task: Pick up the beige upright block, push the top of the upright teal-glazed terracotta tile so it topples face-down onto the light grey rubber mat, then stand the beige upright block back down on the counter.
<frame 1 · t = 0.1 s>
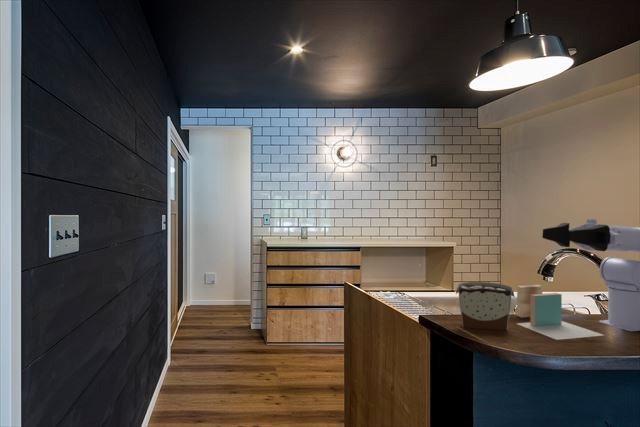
hand: (557, 234, 88), 22 cm above the table, tool horizontal, fingers open, 7 cm apart
beige upright block: (529, 318, 101), on the table
mat: (558, 331, 90), on the table
food container: (483, 327, 93), on the table
tile: (546, 324, 93), resting on mat
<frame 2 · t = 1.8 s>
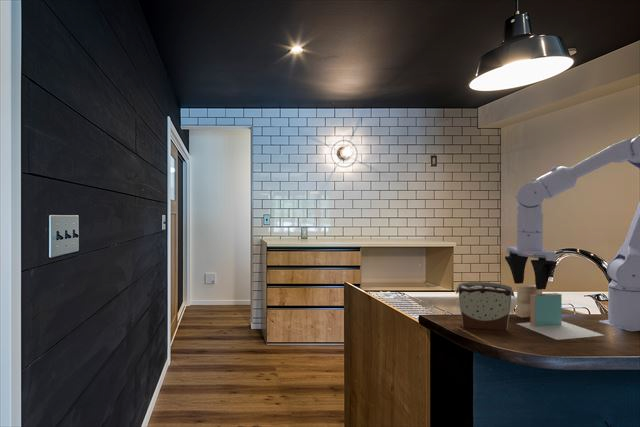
hand: (529, 286, 101), 8 cm above the table, tool pointing down, fingers open, 7 cm apart
nothing on the table moved.
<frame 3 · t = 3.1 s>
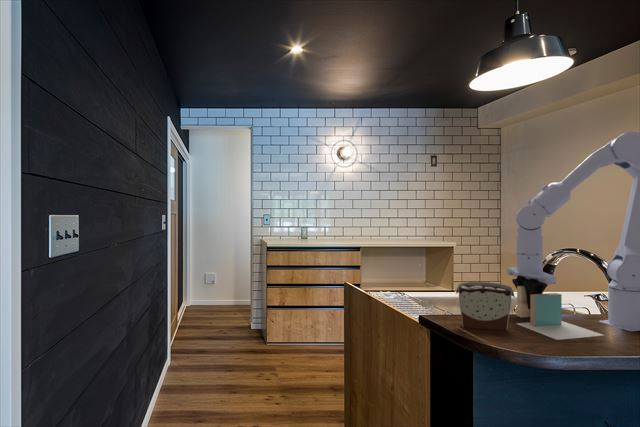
hand: (529, 308, 101), 2 cm above the table, tool pointing down, fingers closed on beige upright block, 2 cm apart
beige upright block: (529, 317, 101), on the table, touching gripper
everything else where it was.
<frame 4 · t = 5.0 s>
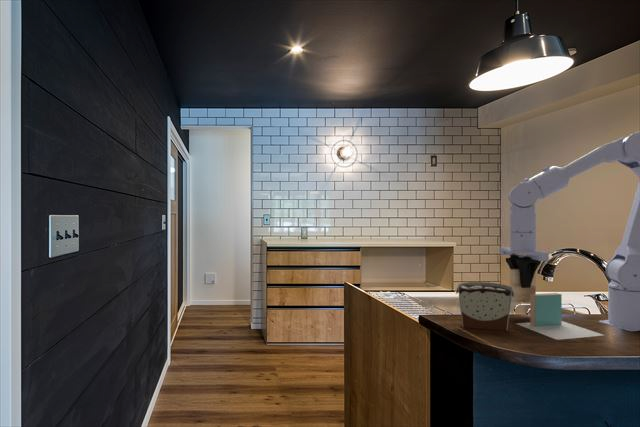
hand: (522, 286, 100), 8 cm above the table, tool pointing down, fingers closed on beige upright block
beige upright block: (523, 301, 100), point 4 cm above the table, touching gripper
everything else where it was.
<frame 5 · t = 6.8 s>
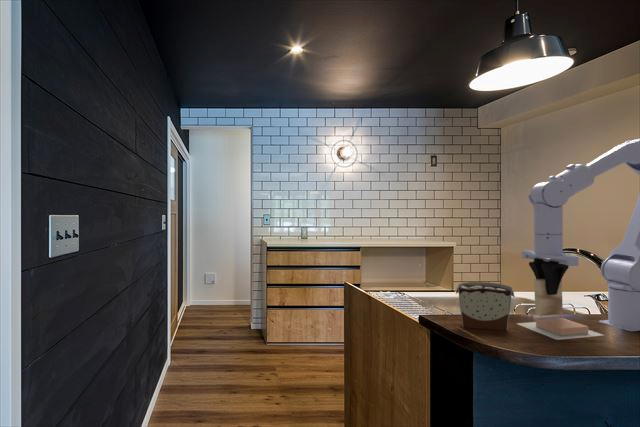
hand: (548, 293, 92), 8 cm above the table, tool pointing down, fingers closed on beige upright block
beige upright block: (548, 313, 92), point 3 cm above the table, touching gripper
tile: (549, 322, 92), point 1 cm above the table, tilted 90°, touching mat
everything else where it was.
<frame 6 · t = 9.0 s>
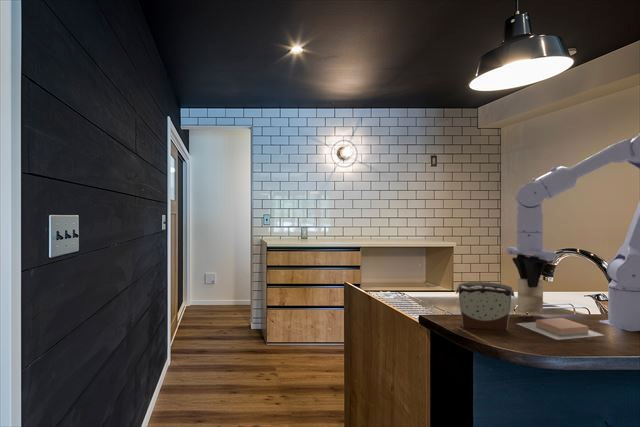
hand: (529, 286, 101), 8 cm above the table, tool pointing down, fingers closed on beige upright block, 2 cm apart
beige upright block: (530, 311, 101), point 2 cm above the table, touching gripper
everything else where it was.
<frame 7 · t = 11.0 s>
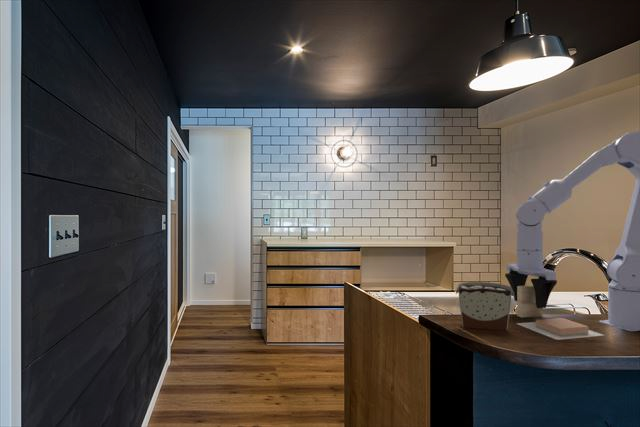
hand: (529, 304, 101), 3 cm above the table, tool pointing down, fingers open, 7 cm apart
beige upright block: (529, 317, 101), on the table
everything else where it was.
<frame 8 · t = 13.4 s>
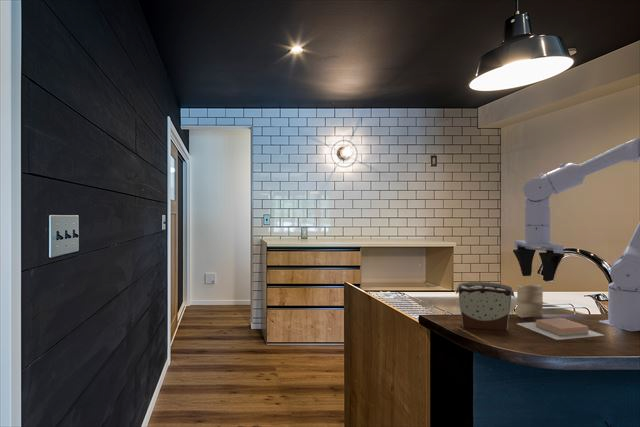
hand: (537, 278, 103), 9 cm above the table, tool pointing down, fingers open, 7 cm apart
nothing on the table moved.
at the end: tile tilted 90°; tile inside the target area on the mat (2.1 cm from its centre), point 1.3 cm above the mat's base; the gripper is holding nothing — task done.
